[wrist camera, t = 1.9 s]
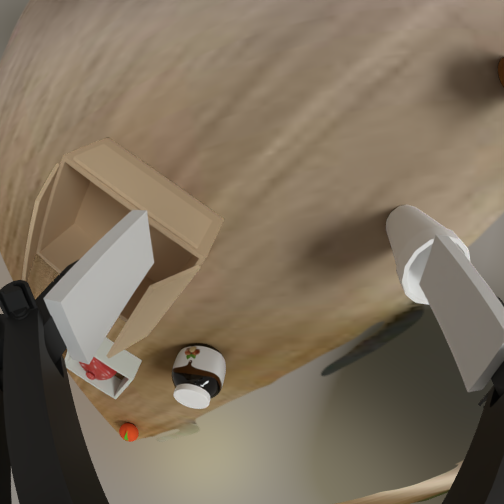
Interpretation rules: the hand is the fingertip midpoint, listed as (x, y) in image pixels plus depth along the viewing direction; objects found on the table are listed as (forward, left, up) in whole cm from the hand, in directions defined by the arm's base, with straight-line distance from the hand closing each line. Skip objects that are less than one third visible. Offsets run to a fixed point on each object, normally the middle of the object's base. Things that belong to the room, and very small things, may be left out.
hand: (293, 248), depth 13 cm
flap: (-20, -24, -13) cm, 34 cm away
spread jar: (+14, -45, -29) cm, 55 cm away
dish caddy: (-4, -65, -29) cm, 71 cm away
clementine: (+16, -100, -29) cm, 105 cm away
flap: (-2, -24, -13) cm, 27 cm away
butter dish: (-5, -65, -29) cm, 71 cm away
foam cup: (+21, +2, -29) cm, 36 cm away
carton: (-11, -24, -29) cm, 39 cm away
